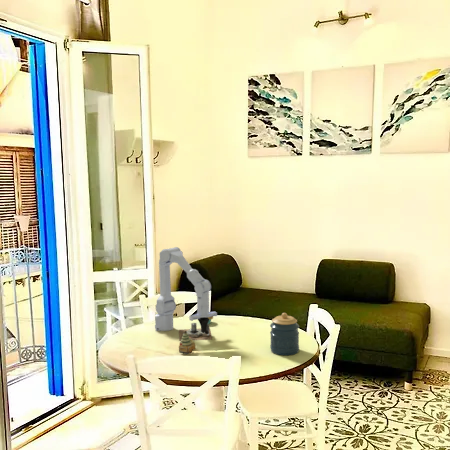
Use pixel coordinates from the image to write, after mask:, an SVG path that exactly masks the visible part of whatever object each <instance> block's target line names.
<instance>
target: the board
mask: <svg viewBox="0 0 450 450" xmlns="http://www.w3.org/2000/svg"><path fill="white" fill-rule="evenodd" d="M197 329H198V330H201V328H197ZM188 330H189V328H187V329H178V336H179V337H178V341H179V342H181V339H182V336H183V333H184V332H185V331H188ZM209 334H210V335H209V336H199V337H191V336H189V337H191V339H192V340H193V341H208V340H213V336H212V332H211V328H210V327H209Z"/></svg>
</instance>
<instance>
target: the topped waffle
mask: <svg viewBox="0 0 450 450" xmlns="http://www.w3.org/2000/svg"><path fill="white" fill-rule="evenodd" d="M194 350H196V343H195V340H192V339H191V337H189V336H188V334H187V333H186V331H185V332H184V334H183V336H182V339H181V341H179V345H178V352H179V353H180V354H186V355H188V354H191V353H192V352H193V351H194Z"/></svg>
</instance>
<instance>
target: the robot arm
mask: <svg viewBox="0 0 450 450" xmlns="http://www.w3.org/2000/svg"><path fill="white" fill-rule="evenodd" d="M173 263H176V264H177V265H178V266H179V267H180V268H181V269H182V270H183V271H184V272H185V273H186V278H187V279H188V281H189V282H191V284H192V285H193V287H194V291H195V295H196V301H197V302H196V303H197V305H196V306H197V308H196V309H197V310H196V311H197V312H196V313H195V314H192V315H189V317H188V318H189V321H191V322H192V321H194V320H195V321H196V320H197V321H198V323H199V324H200V329H201V332H202V333H206V326H207V323H208V321H209V318H208V317H212V316H213V317H217V316H218V312H216V311H210V297H209V296H210V294H209V293H210V291H211V290H212V284H211V282H210V280H208V279H205V278H204V277H203V276H202V275H201V273H199V270H198V269H196V268H192V266H191V265H190V263H189V262H188V261H187V259H186V258H185V256H184V254H183V251H182V250H181V249H180V248H179V247H177V246H175V247H172V248H171V247H170V248H164V249H162V250H161V251H160V252H159V260H158V267H159V268H158V269H159V271H158V272H159V293H160V295H159V297H157V299H156V303H155V304H156V305H155V311H156V313H155V323H154V324H155V325H154V329H155V332H159V331H160V332H162V331H163V332H167V331H172V330H174V313H175V310H176V308H177V304H176V302H175V297H174V296H173V295H172V289H171V288H172V287H171V265H172V264H173Z"/></svg>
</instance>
